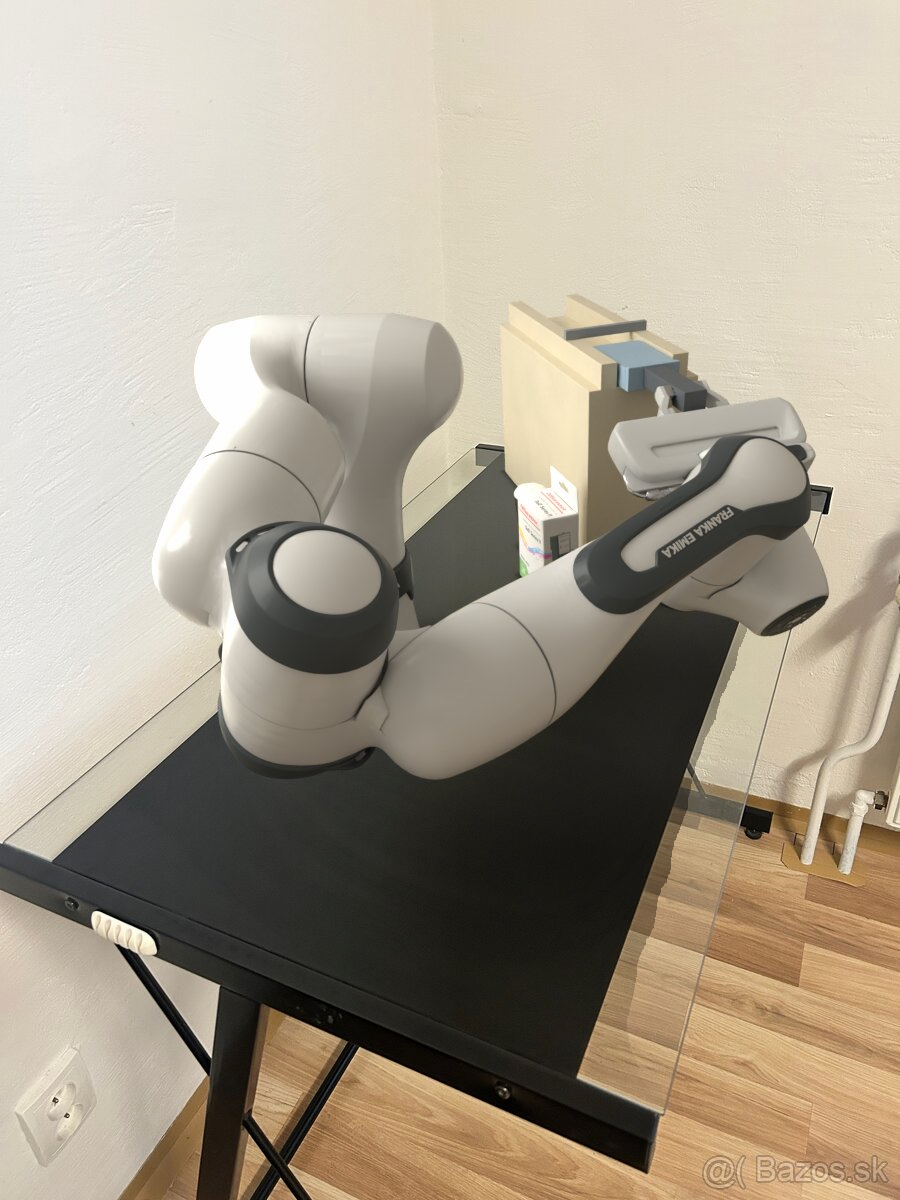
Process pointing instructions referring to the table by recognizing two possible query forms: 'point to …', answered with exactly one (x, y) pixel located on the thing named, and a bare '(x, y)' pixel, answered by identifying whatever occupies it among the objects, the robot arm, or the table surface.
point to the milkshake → (525, 488)
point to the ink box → (547, 524)
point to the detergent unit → (573, 404)
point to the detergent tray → (653, 373)
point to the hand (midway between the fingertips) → (679, 387)
